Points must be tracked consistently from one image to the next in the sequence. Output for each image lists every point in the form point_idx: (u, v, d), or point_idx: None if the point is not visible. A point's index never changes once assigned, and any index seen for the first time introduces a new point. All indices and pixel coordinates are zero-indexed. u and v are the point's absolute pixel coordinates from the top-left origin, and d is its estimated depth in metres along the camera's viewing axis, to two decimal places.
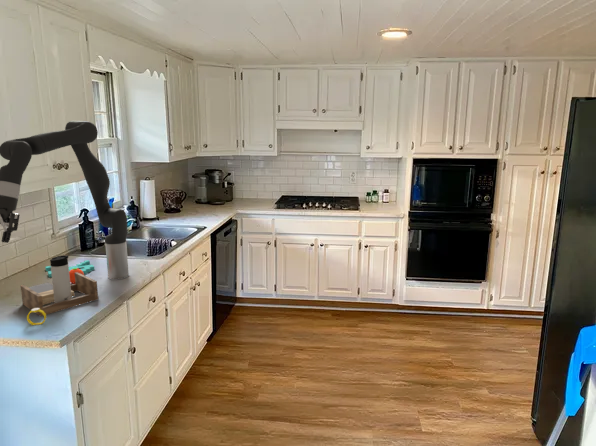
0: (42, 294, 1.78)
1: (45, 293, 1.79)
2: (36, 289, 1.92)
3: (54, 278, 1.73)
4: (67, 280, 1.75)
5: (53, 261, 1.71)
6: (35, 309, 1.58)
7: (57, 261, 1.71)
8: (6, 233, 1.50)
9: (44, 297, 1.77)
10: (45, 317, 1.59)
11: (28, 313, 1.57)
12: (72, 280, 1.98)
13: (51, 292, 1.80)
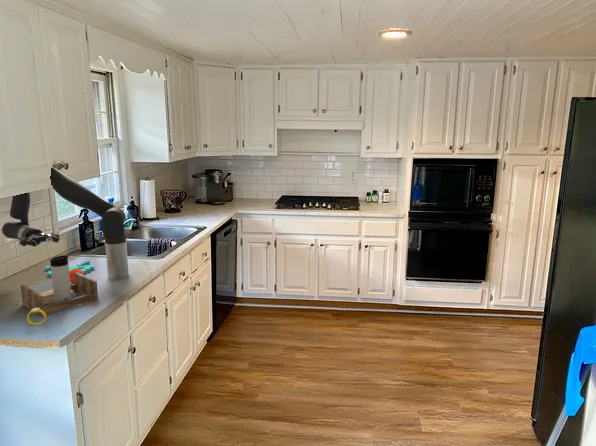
0: (42, 294, 1.78)
1: (45, 293, 1.79)
2: (36, 289, 1.92)
3: (54, 278, 1.73)
4: (67, 280, 1.75)
5: (53, 261, 1.71)
6: (35, 309, 1.58)
7: (57, 261, 1.71)
8: (30, 244, 1.78)
9: (45, 297, 1.77)
10: (45, 317, 1.59)
11: (28, 313, 1.57)
12: (72, 280, 1.98)
13: (51, 292, 1.80)
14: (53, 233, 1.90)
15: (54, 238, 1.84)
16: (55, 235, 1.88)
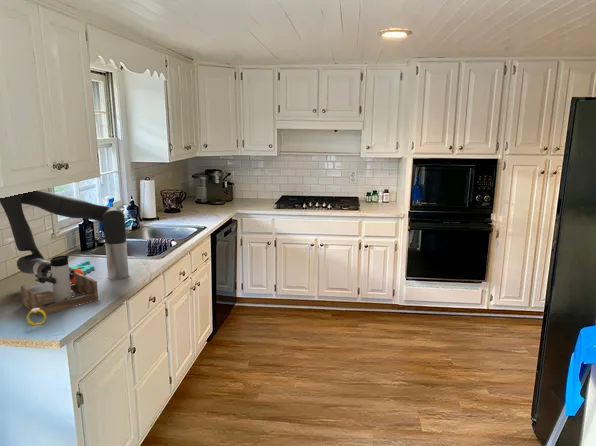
0: (42, 294, 1.78)
1: (45, 293, 1.79)
2: (36, 289, 1.92)
3: None
4: (67, 280, 1.75)
5: (53, 261, 1.71)
6: (35, 309, 1.58)
7: (57, 261, 1.71)
8: (49, 281, 1.73)
9: (44, 297, 1.77)
10: (45, 317, 1.59)
11: (28, 314, 1.58)
12: (72, 280, 1.98)
13: (51, 292, 1.80)
14: (69, 268, 1.84)
15: None
16: (70, 271, 1.82)
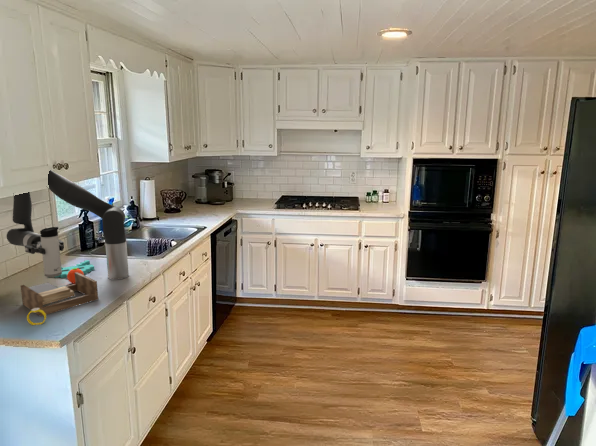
0: (42, 294, 1.78)
1: (45, 293, 1.79)
2: (36, 289, 1.92)
3: None
4: (57, 251, 1.77)
5: (43, 232, 1.73)
6: (35, 309, 1.58)
7: (47, 232, 1.74)
8: None
9: (44, 297, 1.77)
10: (45, 317, 1.59)
11: (28, 313, 1.57)
12: (72, 280, 1.98)
13: (51, 292, 1.80)
14: (59, 240, 1.86)
15: (59, 246, 1.80)
16: (60, 243, 1.84)
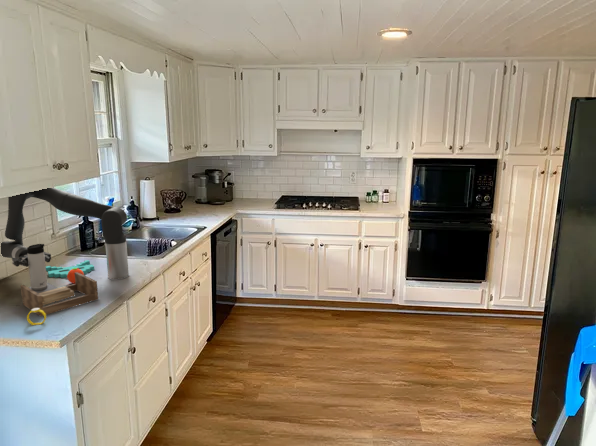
0: (42, 294, 1.78)
1: (45, 293, 1.79)
2: None
3: (30, 265, 1.87)
4: (42, 266, 1.90)
5: (30, 249, 1.86)
6: (35, 309, 1.58)
7: (33, 249, 1.86)
8: None
9: (45, 297, 1.77)
10: (45, 317, 1.59)
11: (28, 313, 1.57)
12: (72, 280, 1.98)
13: (51, 292, 1.80)
14: (45, 253, 1.99)
15: (46, 258, 1.93)
16: (47, 255, 1.97)
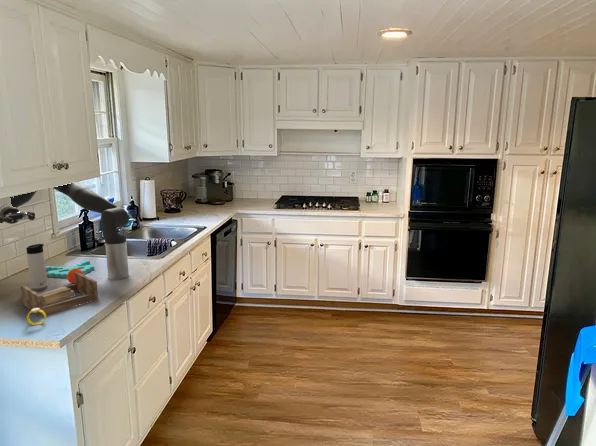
0: (43, 295, 1.78)
1: (46, 293, 1.79)
2: None
3: (30, 265, 1.88)
4: (42, 266, 1.90)
5: (29, 249, 1.86)
6: (35, 309, 1.58)
7: (32, 249, 1.86)
8: (6, 221, 1.92)
9: (46, 297, 1.77)
10: (45, 317, 1.59)
11: (28, 313, 1.57)
12: (72, 280, 1.98)
13: (52, 292, 1.80)
14: (29, 212, 2.03)
15: (30, 216, 1.97)
16: (31, 214, 2.01)
